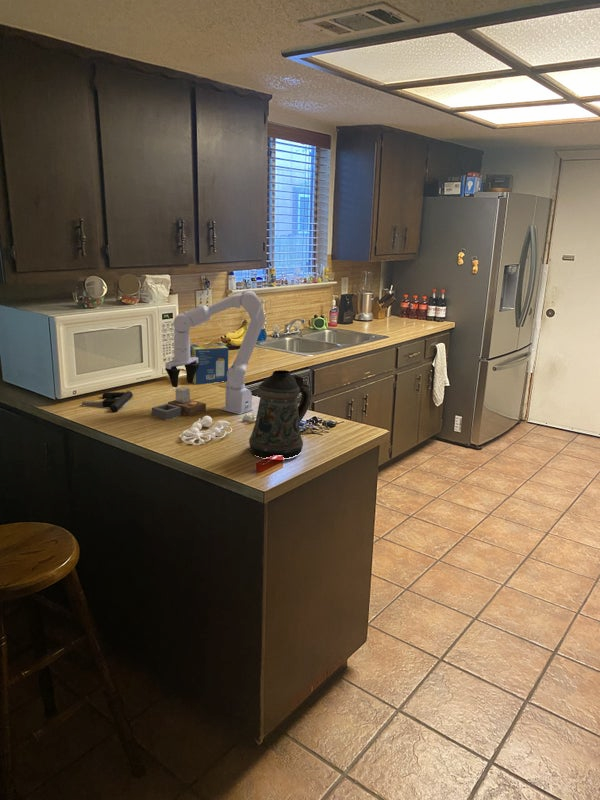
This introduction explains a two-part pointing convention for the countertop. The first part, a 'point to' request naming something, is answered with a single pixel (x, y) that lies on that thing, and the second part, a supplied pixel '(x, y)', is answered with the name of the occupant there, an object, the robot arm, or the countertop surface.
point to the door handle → (112, 400)
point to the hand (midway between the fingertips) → (182, 384)
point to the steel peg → (182, 395)
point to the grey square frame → (166, 411)
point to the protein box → (210, 362)
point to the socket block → (190, 407)
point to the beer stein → (280, 416)
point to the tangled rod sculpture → (197, 434)
